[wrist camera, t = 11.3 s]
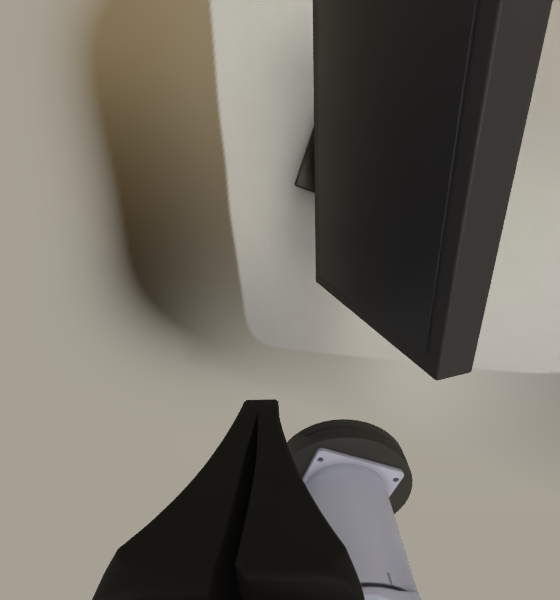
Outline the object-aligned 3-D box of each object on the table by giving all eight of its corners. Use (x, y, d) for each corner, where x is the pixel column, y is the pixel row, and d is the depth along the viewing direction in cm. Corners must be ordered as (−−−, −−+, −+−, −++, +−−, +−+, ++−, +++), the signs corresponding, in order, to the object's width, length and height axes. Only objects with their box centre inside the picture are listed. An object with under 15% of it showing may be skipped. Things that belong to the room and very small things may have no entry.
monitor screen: (314, 282, 17) (434, 382, 8) (310, -13, 12) (564, -406, 4) (336, 278, 17) (472, 373, 9) (340, -11, 12) (636, -371, 4)
